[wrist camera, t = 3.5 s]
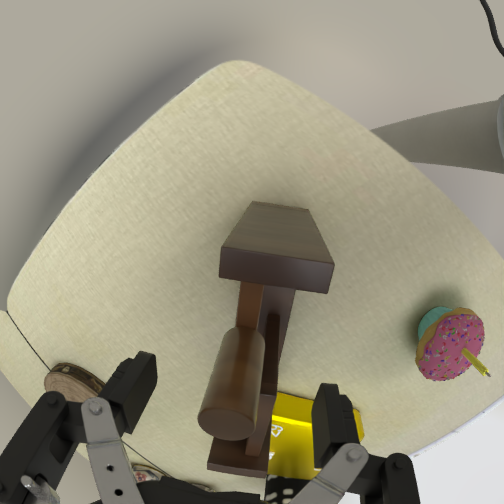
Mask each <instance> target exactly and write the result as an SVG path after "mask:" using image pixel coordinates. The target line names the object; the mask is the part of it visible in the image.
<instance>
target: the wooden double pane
mask: <svg viewBox="0 0 504 504" xmlns="http://www.w3.org/2000/svg"><path fill="white" fill-rule="evenodd" d="M334 266H335V264H334V262H333V259H332V257H331V255H330V253H329V251H328V249H327V247H326V245H325V242H324V240H323V238H322V236H321V234H320V232H319V230H318V228H317V226H316V224H315V222H314V220H313V218H312V216H311V214H310V212H309V210H308V209H302V208H296V207H289V206H283V205H276V204H270V203H263V202H256V201H252V203H251V204H250V206H249V207H248V208H247V210H246V211H245V213H244V214H243V216H242V217H241V219H240V220H239V222H238V223H237V225H236V226H235V227H234V229H233V230H232V232H231V233H230V235H229V236H228V238H227V239H226V241H225V242H224V244H223V245H222V247H221V254H220V265H219V278H225V279H231V280H237V281H243V282H249V283H256V284H262V285H264V290H263V297H262V303H261V309H260V315H259V321H258V327H257V332H259V333H260V334H261V335H262V337H263V339H264V341H265V352H264V361H263V370H262V378H261V387H260V395H259V404H258V412H257V420H256V428H255V431H254V433H253V434H252V435H251V436H249V437H248V438H245V439H242V440H224V439H219V438H216V437H214V438H213V442H212V446H211V450H210V454H209V458H208V461H207V470H212V471H217V472H222V473H228V474H234V475H241V476H248V477H256V478H265V477H266V475H267V472H268V464H269V452H270V440H271V427H272V413H273V408H274V405H275V401H276V398H277V384H278V365H279V361H280V357H281V353H282V348H283V344H284V340H285V335H286V331H287V327H288V322H289V318H290V313H291V309H292V304H293V299H294V295H295V290H303V291H310V292H317V293H324V294H327V293H328V290H329V286H330V282H331V278H332V274H333V270H334Z"/></svg>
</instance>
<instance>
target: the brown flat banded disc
mask: <svg viewBox="0 0 504 504" xmlns="http://www.w3.org/2000/svg"><path fill="white" fill-rule="evenodd" d="M44 386H45V390H46V392H48V391H58V392H60V393H62V394H63V395H64V397H65V399H66V400H67V401H74V402H84V401H85V400H87V399H88V398H91V397H97V396H98V394H99V393H100V392H101V390H102V389H103V387H104V386H105V383H103V382H102V381H101V380H99V379H98V378H97V377H95V376H94V375H93V374H91V373H90V372H88V371H86V370H84V369H82V368H80V367H79V366H76V365H72V364H69V363H59V364H57V365H56V366H55V367H54V368H53V369H52V370H51V371H50V372H49V373H48V374H47V375H46V377H45V379H44Z"/></svg>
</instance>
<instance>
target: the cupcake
mask: <svg viewBox="0 0 504 504" xmlns="http://www.w3.org/2000/svg"><path fill="white" fill-rule="evenodd" d="M484 335H485V333H484V326H483V323H482V320H481V319H480V318H479V317H478V316H477V315H476V314H475V313H474V312H473V311H472V310H470V309H466V308H456V309H455V310H451V309H448V308H446V307H436V308H434V309H432V310H430V311H429V312H428V313H427V314H426V315H425V316H424V317H423V318H422V320H421V321H420V323H419V326H418V337H419V343H418V346H417V351H416V358H415V362H416V364H417V366H418V368H419V370H420V372H421V373H422V374H423V375H424V376H425V377H426V379H431V380H433V381H436V380H437V381H442V380H443V381H445V380H449V379H454V378H455V377H456V376H459V375H460V374H462V373H464V371H465V370H467V369H468V368H469V367H470V365H472V364H473V365H474V367H475V368H476V369H477V370H478V371H479V372H480V373H481V374H482V375H483V376H485V375H488V376H489V377H491V375H490V374H489V373H488V369H487V368H486V367H485V366H484V365H483V364H482V363H481V362H480V361H479V360H478V359H477V356H478V354H480V353H479V352H480V350H481V347H482V346H483V341H484V338H485V337H484Z"/></svg>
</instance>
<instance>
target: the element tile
mask: <svg viewBox="0 0 504 504" xmlns="http://www.w3.org/2000/svg"><path fill="white" fill-rule="evenodd" d="M313 402H314V401H313V400H308V399H304V398H300V397H296V396H291V395H287V394H284V393H280V392H277V398H276V401H275V405H274V408H273V413H272V427H271V440H270V452H269V464H268V472H267V474H270V475H276V476H282V477H289V478H296V479H305V480H312V479H313V478H314V477H315V476H316V475H317V474H318V473H319V472H320V471H321V470H322V469H321V468H314V451H313V433H312V418H311V411H312V405H313ZM353 412H354V416H355V418H354V419H355V421H356V426H357V431H358V436H359V441H360V442H361V441H362V439H363V438H364V430H363V425H362V421H361V416H360V413H359V411H357V410H356V409H353Z"/></svg>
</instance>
